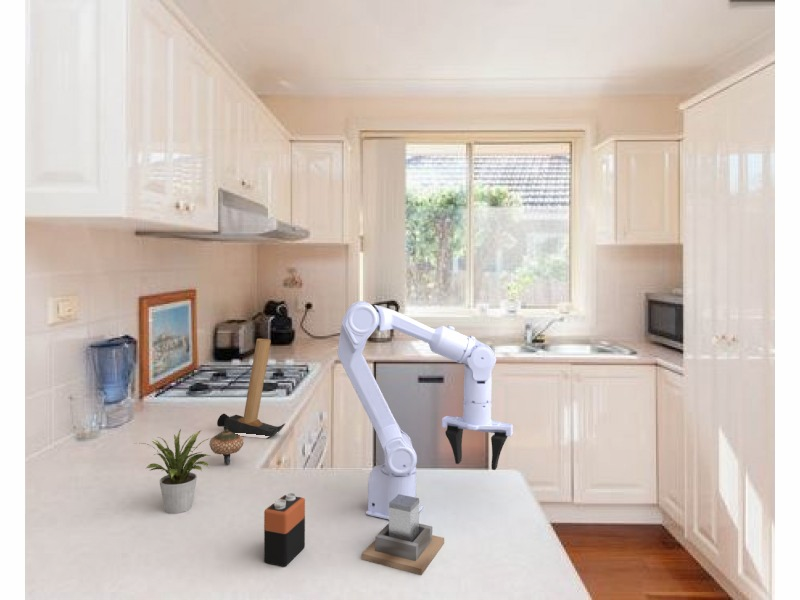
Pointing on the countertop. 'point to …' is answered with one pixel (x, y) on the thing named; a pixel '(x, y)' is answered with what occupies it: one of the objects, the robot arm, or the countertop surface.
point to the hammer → (252, 399)
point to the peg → (404, 518)
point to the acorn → (226, 444)
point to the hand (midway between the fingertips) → (476, 465)
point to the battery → (284, 529)
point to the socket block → (404, 550)
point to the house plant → (178, 474)
